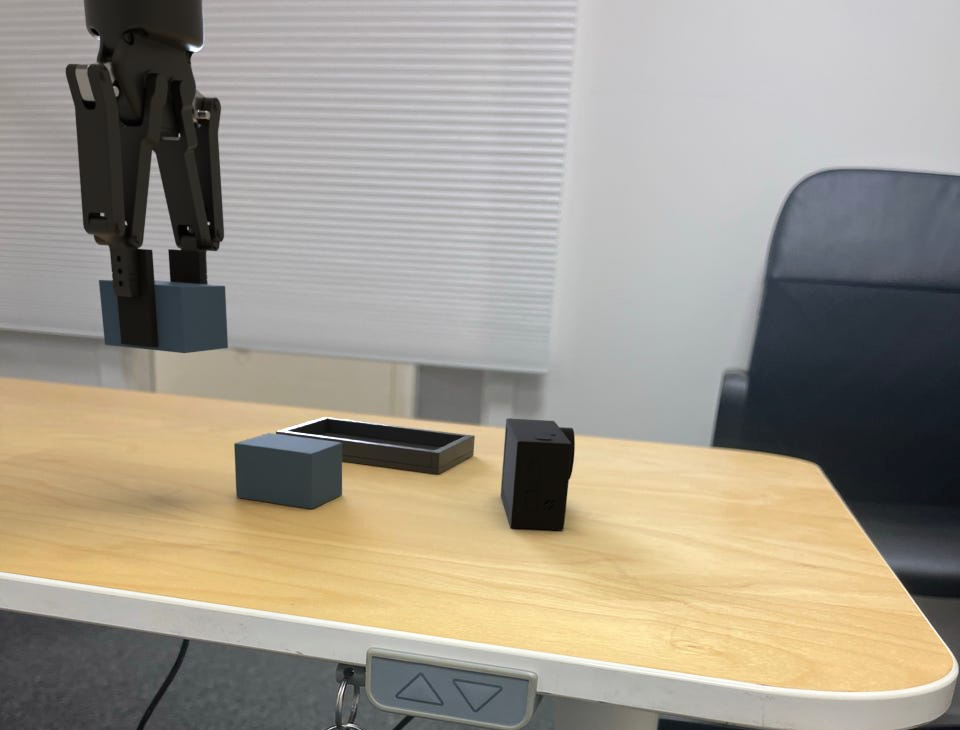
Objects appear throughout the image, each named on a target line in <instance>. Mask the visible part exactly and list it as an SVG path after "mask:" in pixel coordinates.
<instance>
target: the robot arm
mask: <svg viewBox="0 0 960 730" xmlns="http://www.w3.org/2000/svg"><path fill="white" fill-rule="evenodd" d="M203 2H204V1H203V0H83V8H84V9H83V10H84V19H85V20H84V21H85V28H86V30H87V32H88V33H89V35H90V36H91V37H92V38H93V39H95V40H98V41H99V46H98V52H97V55H96V61H95V62H93V63H69V64H67V65H66V67H65V78H66V81H67V85H68V88H69V91H70V95H71V98H72V102H73V105H74V117H75V128H76V129H75V130H76V143H77V154H78V155H77V156H78V170H79V171H78V172H79V186H80V199H81V213H82V226H83V229H84V232H86V234H88V235H90V236H93V240H94V242H95V243H96V244H97V245H99V246H108V248H109V256H110V257H109V258H110V267H111V272H112V273H111V278H112V279H111V280H112V281H113V289H114V292H115V295H116V296H117V300H118V312H119V324H120V336H121V344H126V345H135V346H144V347H159V345H158V331H157V316H156V302H155V288H154V285H155V281H154V280H155V268H154V267H155V266H154V253H153V249H146V248H142V246H143V244H144V237H145V229H146V218H147V208H148V197H149V187H150V178H151V177H150V176H151V167H152V157H153V156H152V155H153V152H154V154H155V157H156V161H157V166H158V170H159V175H160V179H161V185H162V189H163V193H164V198H165V202H166V206H167V211H168V216H169V220H170V225H171V229H172V234H173V239H174V242H175V245H176V247H177V248H178V249H174V248H173V249H167V250H168V251H167V252H168V266H169V281H170V282H182V283H195V284H208V285H209V283H208V266H207V265H208V263H207V252H218V251H219V249H220V246H221V243H222V242H223V241H224V239H225V227H224V226H225V225H224V208H223V193H222V191H223V190H222V176H221V175H222V173H221V160H220V159H221V158H220V142H219V130H220V121H221V115H222V114H221V113H222V105H221V102H220V100H219V98H218V97H215V96H205V95H204V94H202V93H201V92H200V91H199V90H198V89H197V82H196V78H195V75H194V72H193V67H192V56H193V54H195V53H196V52H199V51H201V50H202V48H203V47H204V44H205V24H204V23H205V21H204V3H203ZM102 214H103V215H102Z"/></svg>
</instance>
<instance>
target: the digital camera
mask: <svg viewBox="0 0 960 730" xmlns="http://www.w3.org/2000/svg"><path fill="white" fill-rule="evenodd" d="M503 446H504V447H503V456H502V457H503V458H502V471H501V484H500V499H501V501H502V504H503V508H504V511H505V514H506V517H507V520H508V524H509V527H510V528H511V529H527V530H553V531H563V530H564V529H565V522H566V521H565V520H566V510H567V500H568V491H569V481H570V479H571V477H572V473H573V470H574V469H573V468H574V464H575V463H574V462H575V448H576V447H575V446H576V441H575V431H574V428H573V427H566V426H565V427H563V426H562V427H561V426H559V425H558V424H557V422H556V421H554V420H545V419H527V418H511V417H510V418H506V419H505V430H504V444H503Z"/></svg>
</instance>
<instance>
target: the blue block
mask: <svg viewBox="0 0 960 730" xmlns="http://www.w3.org/2000/svg"><path fill="white" fill-rule="evenodd" d="M112 280H113V279H99V280H98V286H99V296H100V297H99V299H100V307H101V317H102V327H103V328H102V329H103V338H104V340H103V341H104V345H105V346H112V347H120V348H121V347H122V348H132V349H140V350H148V351H149V350H150V351H159V352H167V353H168V352H170V353H179V354H190V353H198V352H208V351H215V350H223V349H224V350H225V349H228V348H229V340H228V323H227V322H228V320H227V319H228V318H227V317H228V316H227V298H226V297H227V296H226V286H225V285H220V284H219V285H218V284H209V283H208V284H195V283H182V282H170V280H169V281H168V280H157V279H154V281H155V285H154V288H155V302H156V316H157V331H158V345H159V347H144V346H135V345H126V344H121V336H120V324H119V312H118V300H117V296H116V295H115V292H114V289H113V281H112Z"/></svg>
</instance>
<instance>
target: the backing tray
mask: <svg viewBox="0 0 960 730" xmlns="http://www.w3.org/2000/svg"><path fill="white" fill-rule="evenodd" d="M275 434H281V435H288V436H296V437H303V438H311V439H318V440H326V441H333V442H341V443H342V462H346V463H352V464H360V465H368V466H374V467H381V468H389V469H396V470H403V471H410V472H418V473H425V474H433V475H440V474H442V473H443V472H445V471H447V470H450V469H451V468H453V467H455V466H457V465H459V464H460V463H462V462H463V461H466V460H467V459H470V458H471V457H473V456H474V455H475V453H474V452H475V437H476V436H475V435H474V434H473V435H471V434H466V433H465V434H464V433H456V432H449V431H439V430H432V429H424V428H416V427H409V426H408V427H407V426H402V425H401V426H400V425H391V424H384V423H377V422H367V421H360V420H354V419H353V420H351V419H344V418H336V417H329V416H323V417H319V418H315V419H313V420H309V421H306V422H303V423H300V424H296V425H294V426H290V427H286V428H283V429H280V430H276V431H275Z"/></svg>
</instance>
